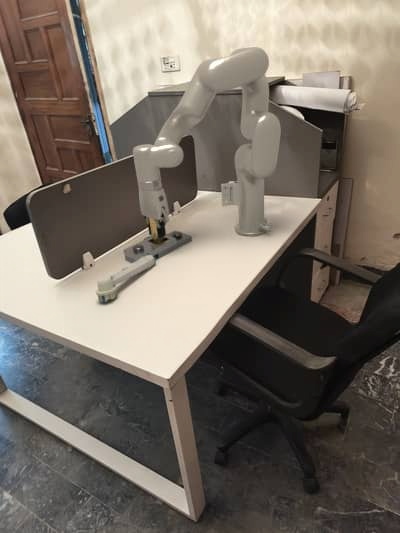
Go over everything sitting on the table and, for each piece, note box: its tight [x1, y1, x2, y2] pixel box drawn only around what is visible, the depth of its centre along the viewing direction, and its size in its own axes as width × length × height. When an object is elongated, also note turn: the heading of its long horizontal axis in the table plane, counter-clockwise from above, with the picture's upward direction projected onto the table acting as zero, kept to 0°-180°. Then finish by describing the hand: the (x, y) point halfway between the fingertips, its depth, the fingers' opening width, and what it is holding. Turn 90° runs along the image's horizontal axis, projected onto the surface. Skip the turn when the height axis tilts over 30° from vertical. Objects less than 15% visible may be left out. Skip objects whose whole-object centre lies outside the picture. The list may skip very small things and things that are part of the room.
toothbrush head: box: [95, 255, 157, 302], centre depth 113 cm, size 5×7×25 cm
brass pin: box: [149, 217, 164, 245], centre depth 128 cm, size 4×4×12 cm
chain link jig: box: [123, 230, 193, 264], centre depth 130 cm, size 24×9×5 cm, turn 137°
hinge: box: [220, 180, 238, 207], centre depth 163 cm, size 14×5×10 cm, turn 77°
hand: (157, 234), depth 129 cm, fingers closed on brass pin, 3 cm apart
